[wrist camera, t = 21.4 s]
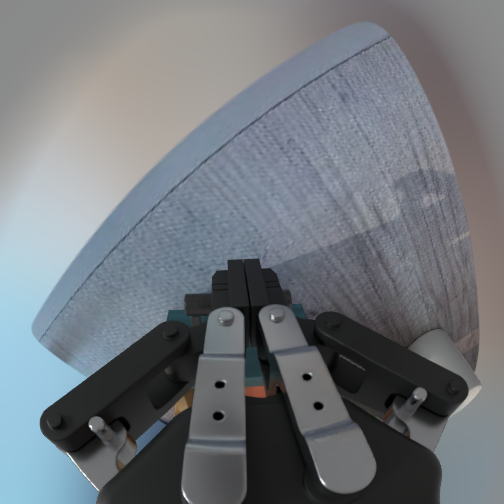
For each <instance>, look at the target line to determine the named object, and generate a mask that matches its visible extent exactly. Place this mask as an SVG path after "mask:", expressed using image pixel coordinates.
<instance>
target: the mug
mask: <svg viewBox="0 0 504 504" xmlns="http://www.w3.org/2000/svg"><path fill="white" fill-rule="evenodd" d="M407 349H409V350H411V351H413V352H415V353H417V354H419V355H421V356H422V357H424V358H426V359H428V360H430V361H432V362H434V363H436V364H438V365H440V366H442V367H444V368H446V369H448V370H450V371H452V372H454V373H456V374H458V375H460V376H461V377H462V378H463V379H464V380H465V381H466V383H467V385H468V388H469V393H468V396H467V398H466V399H465V401H464V402H463V403H462V404H461V405H460V406H459V407H458V408H457V409H456V410H455V411H454V412H453V414H452V415H451V416H453V415H455V414H456V413H457V412H459V411H460V410H461V409H462V408H464V407H465V406H466V405H467V404H468V403H469V402H470V401H471V400H472V399H473V398H474V397H475V396H476V395H477V394H478V393H479V391H480V390H481V387H482V384H481V382H480V380H479V379H478V377H477V376H476V374H475V373H474V371H473V370H472V368H471V367H470V365H469V364H468V362H467V361H466V360H465V358H464V357H463V355H462V354H461V353H460V351H459V350H458V348H457V347H456V346H455V344H454V343H453V341H452V340H451V338H450V337H449V336H448V334H447V333H446V332H445V331H444V330H442V329H435V330H431V331H429V332H427V333H425V334H424V335H422V336H421V337H419V338H418V339H417V340H415V341H414V342H413V343H412V344H411V345H410V346H409V347H408V348H407ZM451 416H450V417H451ZM450 417H449V418H450Z"/></svg>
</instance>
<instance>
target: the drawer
mask: <svg viewBox="0 0 504 504" xmlns="http://www.w3.org/2000/svg"><path fill="white" fill-rule="evenodd" d="M282 293H283V296H284V299H285V302H286V305H287V307H288V308H290V309H291V310H292V311H293V312H294V314H295V316H297V317H299V318H303V319H307V318H306V315H305V313H304V310H303V307H302V305H301V304H294V305H291V294H290V291H289V290H288V289H286V290H282ZM211 302H212V293H204V294H186V295H185V299H184V307H185V310H169V312H168V317H167V321H171V320H176V321H181V322H183V323H185V324H186V325H187V326H188V328H190V327H193V326H197V325H200V324H202V323H204V322H205V321H206V320H207V319H208V316H209V314H210V313H211ZM256 386H263V382H262V378H261V374H260V371H259V367H258V363H257V347H252V348H251V345H250V337H249V348H246V359H245V387H256ZM194 389H195V385H194V386H193V387H192V388H191V389H190V390H189V391H188V392H187V393H186V394H185V395H184V396H183V397H182V398H181V399H180V400H179V401H178V402H177V404H178V407H179V409H180V412H182V411H183V410H185V409H187V408H189V407H191V406H192V405H193V397H194Z"/></svg>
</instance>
